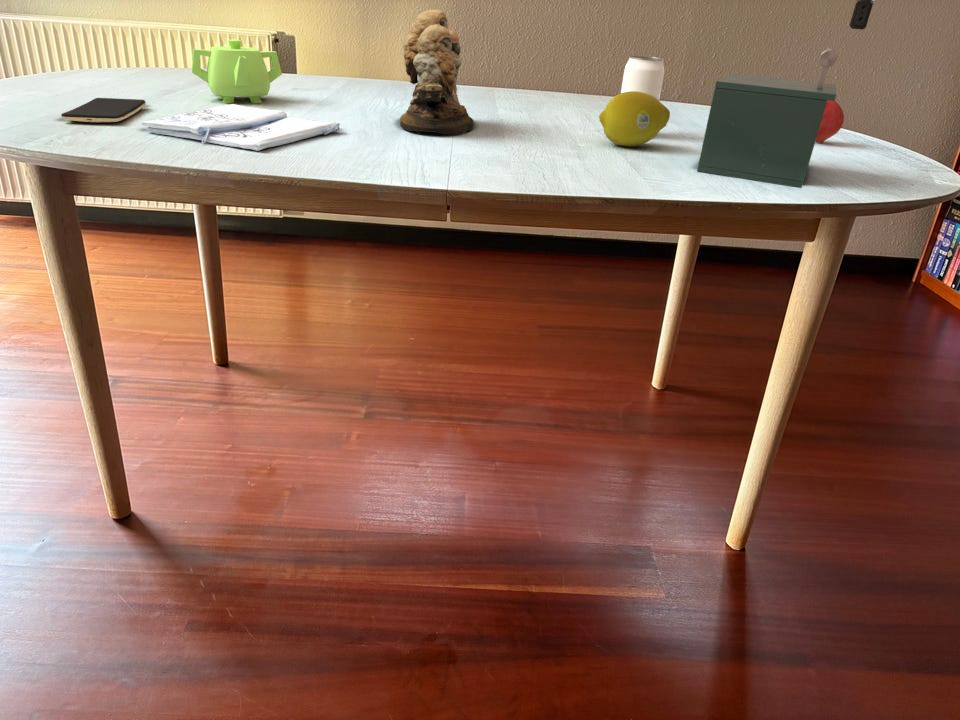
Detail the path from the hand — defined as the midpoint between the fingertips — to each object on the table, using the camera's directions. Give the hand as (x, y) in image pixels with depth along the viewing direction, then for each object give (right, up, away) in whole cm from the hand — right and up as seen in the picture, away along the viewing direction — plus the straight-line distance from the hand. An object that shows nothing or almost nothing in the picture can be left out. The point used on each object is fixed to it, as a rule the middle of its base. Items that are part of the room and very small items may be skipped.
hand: (856, 28), depth 110 cm
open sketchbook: (-94, -21, -12) cm, 97 cm away
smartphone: (-116, -17, -7) cm, 118 cm away
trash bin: (-22, -26, -12) cm, 36 cm away
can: (-34, -15, +7) cm, 38 cm away
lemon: (-37, -20, -2) cm, 42 cm away
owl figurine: (-68, -15, +1) cm, 69 cm away
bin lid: (-21, -17, -18) cm, 32 cm away
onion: (-1, -15, +11) cm, 19 cm away
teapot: (-103, -7, +12) cm, 104 cm away
